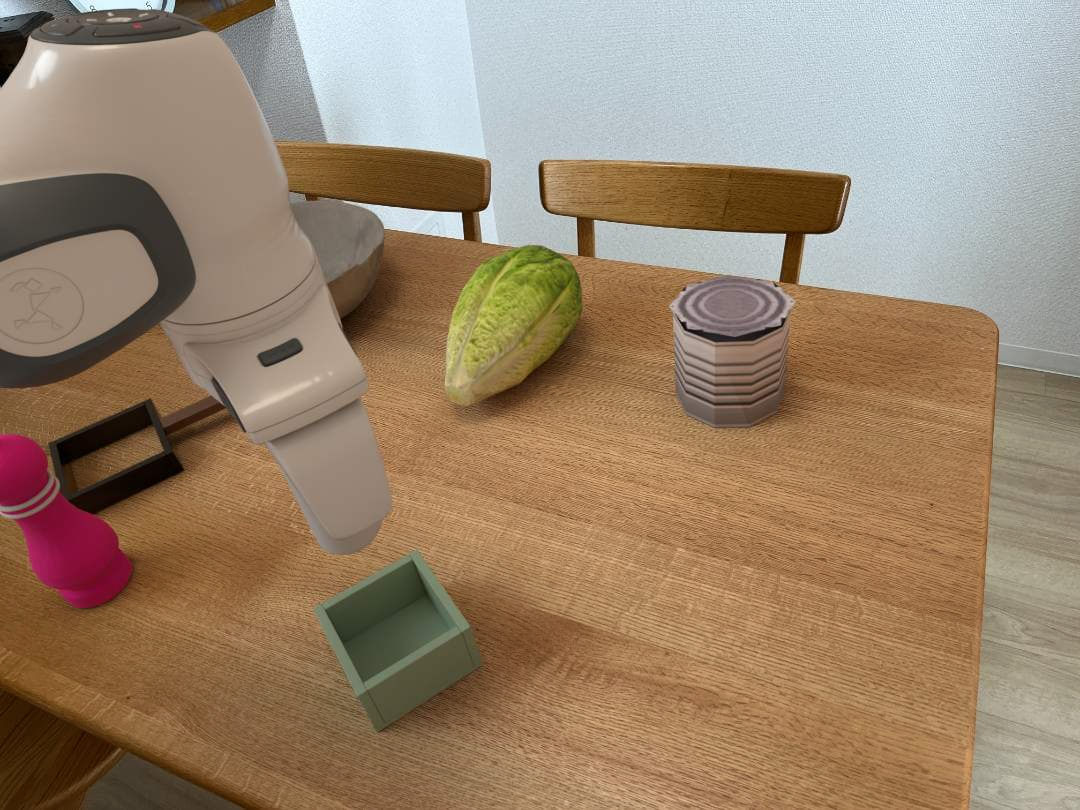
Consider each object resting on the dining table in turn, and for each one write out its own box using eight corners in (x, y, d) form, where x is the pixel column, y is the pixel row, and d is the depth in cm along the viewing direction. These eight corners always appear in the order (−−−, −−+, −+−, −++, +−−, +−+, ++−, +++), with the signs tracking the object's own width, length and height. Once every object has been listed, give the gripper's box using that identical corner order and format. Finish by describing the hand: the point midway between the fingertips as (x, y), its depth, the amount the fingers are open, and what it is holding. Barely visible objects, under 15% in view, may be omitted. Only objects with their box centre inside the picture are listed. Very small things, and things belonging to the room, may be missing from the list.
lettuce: (382, 367, 88) (450, 340, 77) (485, 245, 100) (555, 207, 89) (461, 447, 93) (534, 431, 82) (550, 321, 104) (624, 294, 94)
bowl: (299, 395, 96) (269, 327, 89) (155, 343, 109) (120, 280, 102) (437, 275, 112) (421, 210, 105) (298, 242, 125) (275, 182, 118)
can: (660, 417, 84) (655, 324, 77) (693, 352, 92) (691, 261, 84) (770, 439, 80) (777, 343, 72) (795, 369, 87) (804, 275, 79)
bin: (377, 732, 62) (357, 696, 59) (332, 645, 69) (312, 608, 65) (483, 664, 66) (470, 626, 62) (431, 587, 72) (417, 548, 68)
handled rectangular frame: (76, 522, 85) (61, 503, 83) (61, 461, 93) (47, 443, 91) (259, 434, 91) (249, 415, 89) (230, 385, 99) (221, 366, 97)
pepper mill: (91, 548, 81) (-27, 401, 68) (152, 554, 80) (43, 404, 67) (45, 609, 76) (-92, 462, 63) (109, 617, 75) (-18, 467, 61)
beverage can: (384, 499, 59) (334, 373, 51) (386, 550, 55) (332, 423, 47) (319, 514, 59) (259, 389, 51) (316, 566, 55) (251, 440, 47)
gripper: (158, 270, 51) (241, 429, 60) (253, 443, 37) (342, 616, 46) (253, 232, 53) (319, 392, 62) (377, 383, 39) (439, 560, 48)
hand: (330, 489), depth 54 cm, fingers closed on beverage can, 5 cm apart
